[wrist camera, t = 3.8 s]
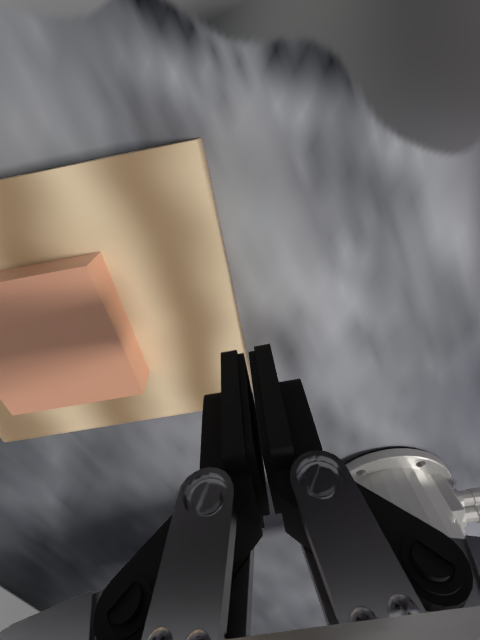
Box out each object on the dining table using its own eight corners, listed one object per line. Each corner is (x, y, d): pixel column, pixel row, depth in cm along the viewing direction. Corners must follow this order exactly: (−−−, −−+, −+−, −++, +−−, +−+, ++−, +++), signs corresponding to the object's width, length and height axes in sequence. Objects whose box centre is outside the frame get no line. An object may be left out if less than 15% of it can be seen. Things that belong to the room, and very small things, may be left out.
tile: (100, 251, 17) (86, 265, 15) (150, 371, 21) (143, 393, 19) (-47, 279, 17) (-77, 296, 15) (29, 392, 21) (12, 415, 20)
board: (201, 137, 17) (196, 139, 14) (250, 369, 26) (253, 402, 22) (-114, 202, 18) (-180, 217, 15) (29, 406, 26) (4, 442, 23)
